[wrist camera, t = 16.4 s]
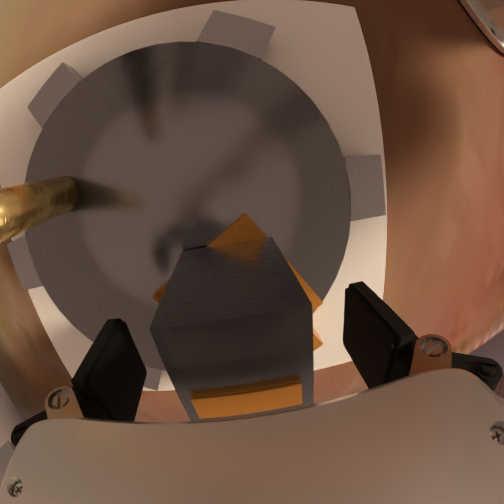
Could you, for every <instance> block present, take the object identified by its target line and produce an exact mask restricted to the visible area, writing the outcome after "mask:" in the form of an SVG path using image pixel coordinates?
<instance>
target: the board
mask: <svg viewBox="0 0 504 504" xmlns="http://www.w3.org/2000/svg"><path fill="white" fill-rule="evenodd" d="M213 10H217V11H221V12H226V13H230V14H234V15H238V16H242V17H246V18H249V19H253V20H256V21H259V22H262V23H266V24H269V25H272V26H275V27H276V28H275V30H274V33H273V35H272V38H271V40H270V42H269V44H268V46H267V49H266V51H265V53H264V55H263V58H262V60H263V61H264V62H266V63H268V64H270V65H272V66H273V67H275V68H277V69H278V70H279V71H281V72H282V73H283V74H285V75H286V76H287V77H289V78H290V79H291V80H292V81H294V82H295V83H296V84H297V85H298V86H299V87H300V88H301V89H302V90H303V91H304V92H305V93H306V94H307V95H308V96H309V97H310V98H311V99H312V101H313V102H314V103H315V105H316V106H317V107H318V109H319V110H320V111H321V113H322V114H323V116H324V117H325V119H326V120H327V122H328V124H329V125H330V127H331V129H332V131H333V133H334V135H335V137H336V139H337V141H338V143H339V146H340V149H341V152H342V155H343V157H347V156H358V155H381V162H382V171H383V181H384V193H385V208H386V215H383V216H377V217H372V218H367V219H361V220H356V221H351V222H350V232H349V238H348V243H347V247H346V251H345V255H344V259H343V261H342V264H341V266H340V269H339V272H338V274H337V277H336V279H335V281H334V283H333V284H332V286H331V288H330V290H329V292H328V293H327V295H326V297H325V298H324V300H323V304H322V305H321V306H319V307H318V308H317V309H316V311H315V312H314V313H313V328H314V329H315V330H316V331H317V332H318V334H319V336H320V338H321V340H322V342H323V345H322V346H320V347H319V348H318V349H316V350H315V351H313V356H314V370H318V369H322V368H327V367H330V366H334V365H338V364H342V363H346V362H349V361H352V359H351V357H350V355H349V354H348V352H347V350H346V349H345V347H344V345H343V325H344V303H345V289H346V288H348V286H349V284H351V283H355V282H360V281H363V282H364V283H365V284H366V285H367V286H368V287H369V288H370V289H372V290H373V291H374V292H375V293H376V294H377V295H378V296H379V297H380V298H381V299H382V300H383V290H384V279H385V264H386V242H387V194H386V172H385V158H384V147H383V137H382V129H381V121H380V114H379V107H378V101H377V95H376V89H375V84H374V79H373V74H372V69H371V65H370V60H369V56H368V52H367V48H366V44H365V40H364V37H363V33H362V30H361V26H360V23H359V20H358V16H357V13H356V10H355V7H351V6H345V5H339V4H332V3H324V2H315V1H303V0H238V1H226V2H216V3H209V4H202V5H195V6H189V7H184V8H179V9H174V10H170V11H165V12H161V13H157V14H153V15H149V16H146V17H142V18H139V19H136V20H132V21H129V22H126V23H123V24H120V25H117V26H115V27H112V28H109V29H107V30H104V31H101V32H99V33H97V34H94V35H92V36H89V37H87V38H85V39H83V40H80V41H78V42H76V43H74V44H72V45H70V46H68V47H66V48H64V49H62V50H60V51H58V52H56V53H54V54H53V55H51V56H49V57H47V58H46V59H44V60H42V61H40V62H39V63H37V64H35V65H34V66H32V67H31V68H29V69H27V70H26V71H24V72H23V73H21V74H20V75H18V76H17V77H15V78H14V79H13V80H11V81H10V82H8V83H7V84H6V85H4V86H3V87H2V88H0V186H1V189H2V188H6V187H10V186H14V185H19V184H23V183H25V178H26V173H27V168H28V164H29V160H30V157H31V154H32V151H33V149H34V146H35V143H36V141H37V139H38V137H39V135H40V133H41V131H42V128H41V127H40V125H39V124H38V122H37V121H36V119H35V118H34V117H33V115H32V114H31V112H30V111H29V109H28V108H27V107H28V105H29V104H30V102H31V101H32V100H33V98H34V97H35V95H36V94H37V93H38V91H39V90H40V89H41V87H42V86H43V85H44V84H45V82H46V81H47V80H48V78H49V77H50V76H51V75H52V74H53V72H54V71H55V70H56V69H57V68H58V67H59V65H60V64H61V63H62V62H64V63H66V64H67V65H69V66H71V67H73V68H74V69H75V70H76V71H77V72H78V73H79V75H80V76H81V77H82V78H83V79H84V78H85V77H86V76H87V75H89V74H90V73H91V72H93V71H94V70H96V69H97V68H99V67H100V66H102V65H104V64H105V63H107V62H109V61H110V60H112V59H115V58H117V57H119V56H121V55H124V54H126V53H128V52H131V51H133V50H137V49H140V48H144V47H147V46H151V45H155V44H162V43H170V42H180V41H181V42H197V39H198V37H199V35H200V34H201V32H202V30H203V28H204V26H205V24H206V22H207V21H208V19H209V17H210V15H211V14H212V12H213ZM24 235H25V231H24V232H22V233H20V234H18V235H16V236H14V237H12V238H11V239H12V241H13V240H15V239H17V238H19V237H22V236H24ZM28 292H29V294H30V297H31V299H32V302H33V304H34V306H35V309H36V311H37V313H38V315H39V318H40V320H41V322H42V324H43V326H44V328H45V330H46V332H47V334H48V336H49V338H50V340H51V342H52V344H53V346H54V348H55V350H56V352H57V353H58V355H59V357H60V359H61V360H62V362H63V364H64V366H65V367H66V369H67V371H68V372H69V374H70V376H71V377H72V378H73V377H74V375H75V373H76V371H77V369H78V368H79V366H80V364H81V362H82V361H83V359H84V357H85V355H86V354H87V352H88V350H89V349H90V347H91V345H92V344H93V342H92V341H91V340H90V339H88V338H87V337H86V336H84V335H83V334H82V333H81V332H80V331H79V330H77V329H76V328H75V327H74V326H73V325H72V324H71V323H70V322H69V321H68V320H67V319H66V317H65V316H64V315H63V314H62V313H61V312H60V311H59V309H58V308H57V307H56V305H55V304H54V302H53V301H52V300H51V298H50V297H49V295H48V293H47V292H46V290H45V288H44V286H41V287H37V288H32V289H28ZM163 390H175V388H174V386H173V384H172V382H171V380H170V377H169V375H168V373H167V371H165V370H162V374H161V378H160V383H159V387H158V391H163ZM142 391H156V390H153V389H149V388H146V387H143V390H142Z"/></svg>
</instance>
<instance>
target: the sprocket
mask: <svg viewBox="0 0 504 504" xmlns="http://www.w3.org/2000/svg"><path fill="white" fill-rule="evenodd" d="M275 28H276V27H275V26H272V25H269V24H266V23H262V22H259V21H256V20H253V19H249V18H246V17H242V16H238V15H234V14H230V13H226V12H221V11H217V10H213V12H212V14H211V15H210V17H209V19H208V21H207V22H206V24H205V26H204V28H203V30H202V32H201V34H200V35H199V37H198V39H197V42H181V41H180V42H170V43H162V44H155V45H151V46H147V47H144V48H140V49H137V50H133V51H131V52H128V53H126V54H124V55H121V56H119V57H117V58H115V59H112V60H110V61H109V62H107V63H105V64H104V65H102V66H100V67H99V68H97V69H96V70H94V71H93V72H91V73H90V74H89V75H87V76H86V77H85V78H84V79H83V78H82V77H81V76H80V75H79V73H78V72H77V71H76V70H75V69H74V68H73V67H71V66H69V65H67V64H66V63H64V62H62V63H61V64H60V65H59V67H58V68H57V69H56V70H55V71H54V72H53V74H52V75H51V76H50V77H49V78H48V80H47V81H46V82H45V84H44V85H43V86H42V87H41V89H40V90H39V91H38V93H37V94H36V95H35V97H34V98H33V100H32V101H31V102H30V104H29V105H28V107H27V108H28V109H29V111H30V112H31V114H32V115H33V117H34V118H35V119H36V121H37V122H38V124H39V125H40V127H41V128H42V131H41V133H40V135H39V137H38V139H37V141H36V143H35V146H34V149H33V151H32V154H31V157H30V160H29V164H28V168H27V173H26V178H25V183H23V184H19V185H14V186H10V187H6V188H2V189H0V243H2V242H4V241H6V240H8V239H10V238H12V237H14V236H16V235H18V234H20V233H22V232H24V231H25V235H24V236H22V237H19V238H17V239H15V240H13V241H11V242H9V243H7V247H8V251H9V254H10V257H11V260H12V263H13V265H14V268H15V271H16V274H17V276H18V279H19V281H20V284H21V286H22V289H23V291H24V290H28V289H32V288H37V287H41V286H44V288H45V290H46V292H47V293H48V295H49V297H50V298H51V300H52V301H53V302H54V304H55V305H56V307H57V308H58V309H59V311H60V312H61V313H62V314H63V315H64V316H65V317H66V319H67V320H68V321H69V322H70V323H71V324H72V325H73V326H74V327H75V328H76V329H77V330H79V331H80V332H81V333H82V334H83V335H84V336H86V337H87V338H88V339H90V340H91V341H92V342H94V340H95V339H96V337H97V335H98V334H99V332H100V331H101V329H102V327H103V326H104V324H105V323H106V321H107V320H108V319H117V318H120V319H121V320H122V321H125V322H126V324H127V326H128V329H129V331H130V334H131V336H132V338H133V341H134V343H135V345H136V348H137V350H138V352H139V354H140V357H141V359H142V361H143V363H144V365H145V367H146V371H147V376H146V379H145V383H144V386H143V387H146V388H149V389H153V390H156V391H158V387H159V383H160V378H161V374H162V370H165V371H166V369H165V366H164V364H163V362H162V359H161V357H160V355H159V352H158V350H157V348H156V345H155V343H154V340H153V338H152V335H151V333H150V330H149V328H150V326H151V323H152V321H153V318H154V316H155V313H156V311H157V308H158V306H159V303H160V301H161V299H162V296H163V294H164V291H165V289H166V287H167V284H168V282H169V280H170V278H171V275H172V273H173V271H174V268H175V266H176V264H177V262H178V260H179V257H180V255H181V253H182V251H186V250H192V249H198V248H204V247H210V246H216V245H222V244H228V243H234V242H240V241H246V240H253V239H259V238H265V237H271V236H272V237H273V239H274V241H275V242H276V244H277V246H278V247H279V249H280V251H281V252H282V254H283V256H284V257H285V259H286V261H287V262H288V264H289V266H290V267H291V269H292V271H293V272H294V274H295V276H296V277H297V279H298V281H299V283H300V284H301V286H302V288H303V289H304V291H305V293H306V294H307V296H308V298H309V300H310V301H311V303H312V312H313V313H314V312H315V311H316V309H317V308H318V307H319V306H321V305H322V304H323V300H324V298H325V297H326V295H327V293H328V292H329V290H330V288H331V286H332V284H333V283H334V281H335V279H336V277H337V274H338V272H339V269H340V266H341V264H342V261H343V259H344V255H345V251H346V247H347V243H348V238H349V232H350V222H351V221H356V220H361V219H367V218H372V217H377V216H383V215H386V208H385V193H384V181H383V171H382V162H381V155H358V156H347V157H343V155H342V152H341V149H340V146H339V143H338V141H337V139H336V137H335V135H334V133H333V131H332V129H331V127H330V125H329V124H328V122H327V120H326V119H325V117H324V116H323V114H322V113H321V111H320V110H319V109H318V107H317V106H316V105H315V103H314V102H313V101H312V99H311V98H310V97H309V96H308V95H307V94H306V93H305V92H304V91H303V90H302V89H301V88H300V87H299V86H298V85H297V84H296V83H295V82H294V81H292V80H291V79H290V78H289V77H287V76H286V75H285V74H283V73H282V72H281V71H279V70H278V69H277V68H275V67H273V66H272V65H270V64H268V63H266V62H264V61H263V60H262V58H263V55H264V53H265V51H266V49H267V46H268V44H269V42H270V40H271V38H272V35H273V33H274V30H275ZM322 345H323V342H322V340H321V338H320V336H319V334H318V332H317V331H316V330H315V329H314V328H313V351H315V350H316V349H318V348H319V347H320V346H322Z"/></svg>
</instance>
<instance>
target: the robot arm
mask: <svg viewBox="0 0 504 504" xmlns="http://www.w3.org/2000/svg"><path fill="white" fill-rule="evenodd" d="M459 1H460V2H461V4H462V5H463V7H464V8H465V9H466V11H467V12H468V14H469V15H470V16H471V18H472V19H473V20H474V22H475V23H476V24H477V26H478V27H479V28H480V29H481V31H482V32H483V33H484V34H485V36H486V37H487V38H488V39H489V40H490V41H491V43H492V44H493V45H494V46H495V47H496V48H497V49H498V50H500V51H501V52H502V53H503V54H504V0H459ZM343 345H344V347H345V349H346V350H347V352H348V354H349V355H350V357H351V359H352V361H353V362H354V364H355V366H356V367H357V369H358V371H359V372H360V374H361V376H362V378H363V379H364V381H365V383H366V384H367V386H368V388H369V389H368V390H364V391H361V392H358V393H354V394H351V395H347V396H344V397H340V398H337V399H333V400H329V401H325V402H321V403H317V404H313V405H309V406H304V407H299V408H295V409H290V410H284V411H279V412H273V413H267V414H261V415H254V416H247V417H239V418H230V419H220V420H207V421H190V422H134V419H135V415H136V412H137V408H138V404H139V401H140V397H141V393H142V390H143V386H144V383H145V379H146V376H147V371H146V367H145V365H144V363H143V361H142V359H141V357H140V354H139V352H138V350H137V348H136V345H135V343H134V341H133V338H132V336H131V334H130V331H129V329H128V326H127V324H126V322H125V321H122V320H121V319H120V318H117V319H108V320H107V321H106V323H105V324H104V326H103V327H102V329H101V331H100V332H99V334H98V335H97V337H96V339H95V340H94V342H93V344H92V345H91V347H90V349H89V350H88V352H87V354H86V355H85V357H84V359H83V361H82V362H81V364H80V366H79V368H78V369H77V371H76V373H75V375H74V377H73V378H72V380H71V382H72V384H73V387H72V389H71V388H70V387H67V386H61V387H58V388H55V389H54V390H52V391H51V392H50V393H49V394H48V395H47V397H46V399H45V408H46V410H45V411H43V412H41V413H39V414H37V415H35V416H33V417H31V418H30V419H28V420H26V421H24V422H22V423H20V424H19V425H17V426H15V428H14V430H13V431H12V434H11V443H10V442H9V441H7V442H6V443H5V444H4V445H3V446H2V447H1V448H0V504H504V374H503V373H502V368H501V366H500V365H499V364H498V363H497V362H496V361H494V360H493V359H489V358H485V357H478V356H472V355H466V354H460V353H455V352H452V348H451V344H450V343H449V341H448V340H447V339H445V338H444V337H442V336H439V335H435V334H428V335H424V336H422V337H420V338H418V337H417V336H416V335H415V333H414V332H413V330H412V329H411V328H410V327H409V326H408V325H407V324H406V323H405V322H404V321H403V320H402V319H401V318H400V317H399V316H398V315H397V314H396V313H395V312H394V311H393V310H392V309H391V308H390V307H389V306H388V305H387V304H386V303H385V302H384V301H383V300H382V299H381V298H380V297H379V296H378V295H377V294H376V293H375V292H374V291H373V290H372V289H370V288H369V287H368V286H367V285H366V284H365V283H364V282H363V281H360V282H355V283H351V284H349V286H348V288H346V289H345V303H344V325H343Z"/></svg>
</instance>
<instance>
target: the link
mask: <svg viewBox="0 0 504 504" xmlns="http://www.w3.org/2000/svg"><path fill="white" fill-rule="evenodd" d="M149 330H150V333H151V335H152V338H153V340H154V343H155V345H156V348H157V350H158V352H159V355H160V357H161V359H162V362H163V364H164V366H165V369H166V371H167V373H168V375H169V377H170V380H171V382H172V384H173V386H174V388H175V390H176V392H177V394H178V396H179V398H180V400H181V402H182V404H183V406H184V408H185V410H186V412H187V414H188V416H189V418H190V420H191V421H207V420H220V419H230V418H239V417H247V416H254V415H261V414H267V413H273V412H279V411H284V410H290V409H295V408H299V407H304V406H309V405H313V385H314V356H313V312H312V303H311V301H310V300H309V298H308V296H307V294H306V293H305V291H304V289H303V288H302V286H301V284H300V283H299V281H298V279H297V277H296V276H295V274H294V272H293V271H292V269H291V267H290V266H289V264H288V262H287V261H286V259H285V257H284V256H283V254H282V252H281V251H280V249H279V247H278V246H277V244H276V242H275V241H274V239H273V237H272V236H271V237H265V238H259V239H253V240H246V241H240V242H234V243H228V244H222V245H216V246H210V247H204V248H198V249H192V250H186V251H182V253H181V255H180V257H179V260H178V262H177V264H176V266H175V268H174V271H173V273H172V275H171V278H170V280H169V282H168V284H167V287H166V289H165V291H164V294H163V296H162V299H161V301H160V303H159V306H158V308H157V311H156V313H155V316H154V318H153V321H152V323H151V326H150V328H149Z"/></svg>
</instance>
